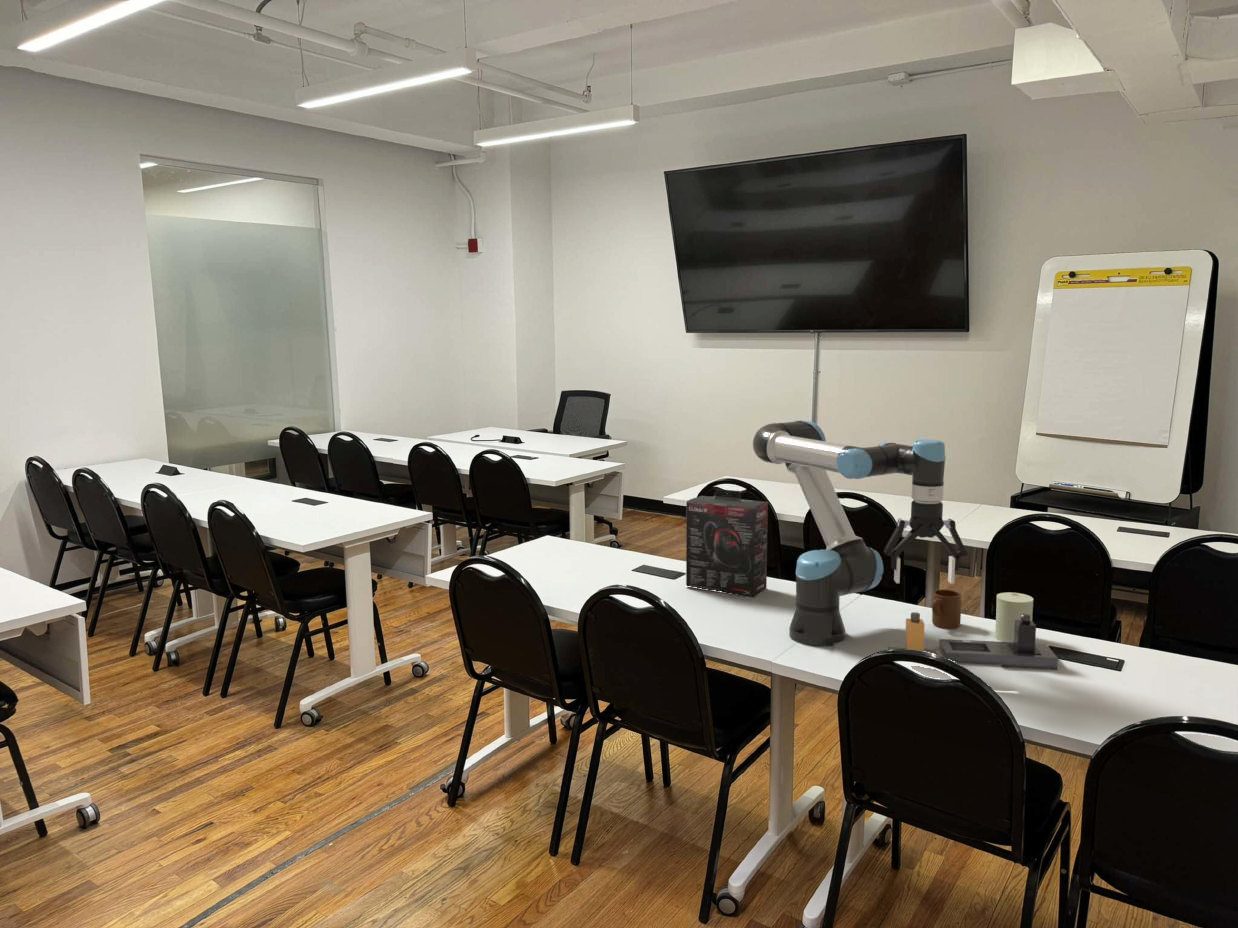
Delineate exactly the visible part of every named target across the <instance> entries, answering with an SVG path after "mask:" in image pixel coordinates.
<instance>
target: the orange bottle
mask: <svg viewBox="0 0 1238 928" xmlns="http://www.w3.org/2000/svg"><path fill="white" fill-rule="evenodd" d="M925 625H926V624H925V622H924V620H923V619H922V618H921V613H920V612H915V611H914V612H911V613H910V618H905V637H904V638H905V640H904V642H905V643H904V645H905V646H904V648H905V649H910V650H917V651H924V649H925Z"/></svg>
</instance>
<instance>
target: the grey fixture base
mask: <svg viewBox="0 0 1238 928" xmlns="http://www.w3.org/2000/svg"><path fill="white" fill-rule="evenodd" d="M1030 617H1031V615H1029V614H1021V620H1015V626H1014V642H1003V641H991V640H972V639H970V640H969V639H968V640H967V639H950V638H949V639H948V638H947V639H946V638H945V639H944V638H939V639H938V649H939V652H940V654H941V656H942V658H943V657H944V658H946V659H950V660H952V661H955V662H957V663H956V664H970V665H971V664H973V665H974V664H975V665H988V666H989V665H991V666H992V665H993V666H1001V668H1013V669H1014V668H1015V669H1016V668H1019V669H1035V670H1036V669H1037V670H1038V669H1039V670H1055V671H1057V670H1058V661H1059V660H1058V659H1059V657H1058V656H1057V655H1056V654H1055V653H1054V651H1053V650H1052V649H1051V648H1050V647H1049V645H1047V643H1039V642H1038V643H1036V637H1037V636H1036V635H1037V634H1036V633H1037V624H1035V623H1034V621H1033V619H1032V620H1030ZM944 658H943V659H944Z"/></svg>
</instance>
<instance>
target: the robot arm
mask: <svg viewBox="0 0 1238 928" xmlns="http://www.w3.org/2000/svg"><path fill="white" fill-rule="evenodd" d="M823 431H824V430H823V429H821V427H820V426H819V425H818V424H816V423H815V422H812V421H809V420H796V421H795V420H794V421H790V422H789V421H788V422H787V421H786V422H777V423H776V422H775V423H774V422H772V423H769V424H766V425H765V424H764V425H763V426H762V427H760V428H759V429H758V430H757V431H756V432H755V434H754V437H753V440H752V449H753V451H754V453H755V455H756V457H758V458H759V460H761V461H763V462H765V463H770V464H773V465H781V464H784V465H785V466H786V467H785V468H786V469H787V471H788V472H789V473H791V474H794V475H795V477H796V480H797V482H798V484H799V486H800V489H801V490H802V493H803V495H804V497H805V500H806V502H807V504H808V506H809V510H810V511H811V514H812V516H813V518H814V521H815V523H816V525H817V528H818V529H819V532H820V534H821V536H822V539H823V541H824V544H825V546H826V549H819V550H818V549H813V550H808V551H807V552H803V553H802V554H801V555H799V556H798V558H797V560H796V569H795V583H796V584H795V593H796V594H795V596H796V597H795V610H794V613H793V617H792V619H791V622H790V626H789V633H788V634H789V637H790V639H792V640H793V641H795V642H798V643H801V644H804V645H809V646H823V647H824V646H833V645H834V644H838V643H842V642H843V641H845V639H846V633H847V631H846V627H845V623H844V620H843V619H842V615H841V612H840V597H843V596H847V595H851V594H856V593H861V592H862V593H864V592H866V591H868V590H870V589H873V588H875V587H877V586H878V585H879V583H880V582H881V580H882V579H883V578H882V577H883V576H882V575H883V574H884V564H883V559H882V556H881V555H880V553H879V552H878V551H877V550H876V549H874V548H872V547H868V546H867V545H866V543H865V541H864V539H863V538H862V537H860V536H857V535H856V534H855V532H854V530H853V527H852V526H851V524H850V521H849V519H848V517H847V515H846V512H845V510H844V507H843V506H842V503H841V501H840V499H839V497H838V495H837V492H836V489H835V488H834V485H833V484H832V481H831V479H830V476H829V474H828V472H827V471H829V472H833V473H839V474H840V475H842V477H844V478H845V479H849V480H853V479H854V480H859V479H864V478H870V477H878V476H885V475H892V474H902V475H908V476H911V477H912V479H911V480H912V482H911V483H912V485H911V499H912V501H911V505H910V507H911V508H910V519H909V520H908V519H903V518H898V519H897V523H896V528H894V531H893V533H892V534H891V537H890V538H889V540H888V542H887V543H886V546H885V547H884V549H883V554H885V555H886V556H888V557H890V569H891V570H892V571H894V574H893V581H894V582H895V583H896V584H900V579H901V578H900V577H901V573H900V572H901V557H900V555H901V554H902V553H903V551H905V549H907V547H908V546H909V545H910V544H911V543H912V542H913V541H914V540H915V539H917V537H919V538H930V539H933V538H934V537H936V538H937V539H939V541H940V542H941V543H942V544H943V545H944V548H946V550H947V551H948V552H949V553H950V554H951V555H950V556H948V568H947V569H948V573H947V575H948V576H947V581H948V582H949V583H950V584H952V585H954V584H955V576H956V575H955V573H956V571H959V569H960V568H959V567H960V560H961V558H962V557H967V556H968V552H967V550H966V547H965V546H964V544H963V541H962V539H961V537H960V535H959V534H958V530H957V527H956V521H955V520H954V519H952V518H948V519H945V520H944V519H943V511H944V507H943V506H944V503H943V502H942V501H943V500H944V483H945V481H944V477H945V476H944V475H945V465H946V446H945V443H944V442H943V441H942V440H939V439H929V438H928V439H925V438H924V439H922V438H921V439H916V440H915V441H914V442H913V445H908V444H907V445H906V444H902V443H896V442H880V444H878V445H877V446H870V447H867V446H866V447H862V446H860V447H859V446H853V445H847V444H842V443H835V442H829V441H826V436H825V433H824V432H823ZM908 526H909V527H910V530H909V531H908V533H906V534H907V535H906V536H904V537H903V538H902V540H901V541H900V542H899V543H898V541H899V540H900V538H901V536H902V534H903V532H904V530H905V529H907V527H908ZM944 526H945V528H946V529H948V531H949V533H950V535H951V537H952V539H953V542H954V544H955V546H956V547H957V550H956V549H955V548H954V547H953V545H952V544H951V543H950V542H949V540H947V538H946V537H945V535H943V533H942V532H941V530H942V529H943V527H944ZM897 543H898V544H897Z"/></svg>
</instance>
